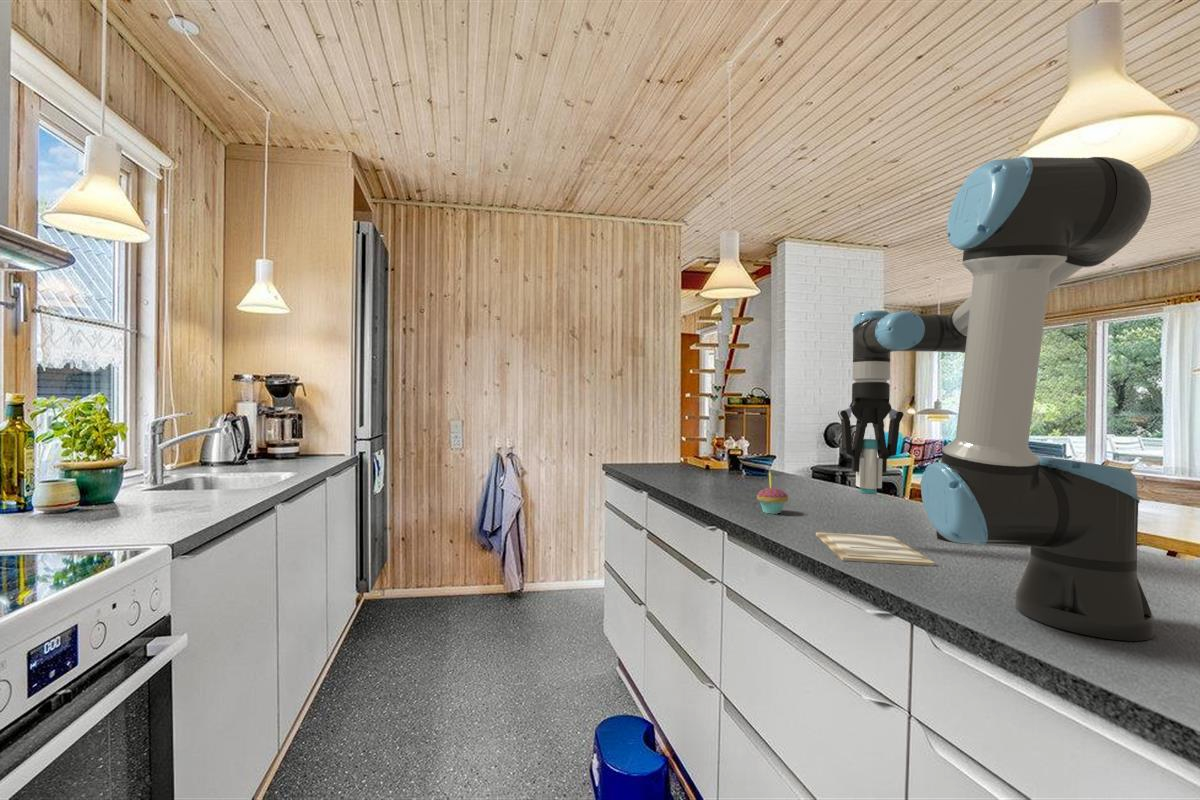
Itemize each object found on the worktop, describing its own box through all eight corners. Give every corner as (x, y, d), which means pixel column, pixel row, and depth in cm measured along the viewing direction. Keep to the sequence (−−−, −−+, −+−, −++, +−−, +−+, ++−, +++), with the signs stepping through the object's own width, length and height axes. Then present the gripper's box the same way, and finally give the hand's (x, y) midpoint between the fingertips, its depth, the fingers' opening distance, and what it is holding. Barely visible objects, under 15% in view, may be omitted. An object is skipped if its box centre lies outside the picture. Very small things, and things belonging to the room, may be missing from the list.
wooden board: (935, 566, 105) (935, 561, 105) (842, 560, 108) (842, 556, 108) (891, 538, 127) (892, 535, 127) (815, 534, 130) (815, 531, 130)
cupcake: (752, 509, 160) (752, 469, 160) (779, 509, 161) (780, 469, 161) (764, 515, 152) (764, 472, 152) (793, 515, 152) (793, 472, 153)
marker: (879, 494, 119) (880, 440, 119) (863, 494, 120) (863, 439, 120) (873, 492, 122) (874, 439, 123) (857, 491, 123) (858, 438, 123)
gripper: (902, 382, 124) (900, 485, 124) (827, 381, 126) (825, 483, 126) (917, 381, 116) (914, 491, 116) (837, 380, 118) (835, 488, 118)
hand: (868, 486), depth 121 cm, fingers closed on marker, 3 cm apart
